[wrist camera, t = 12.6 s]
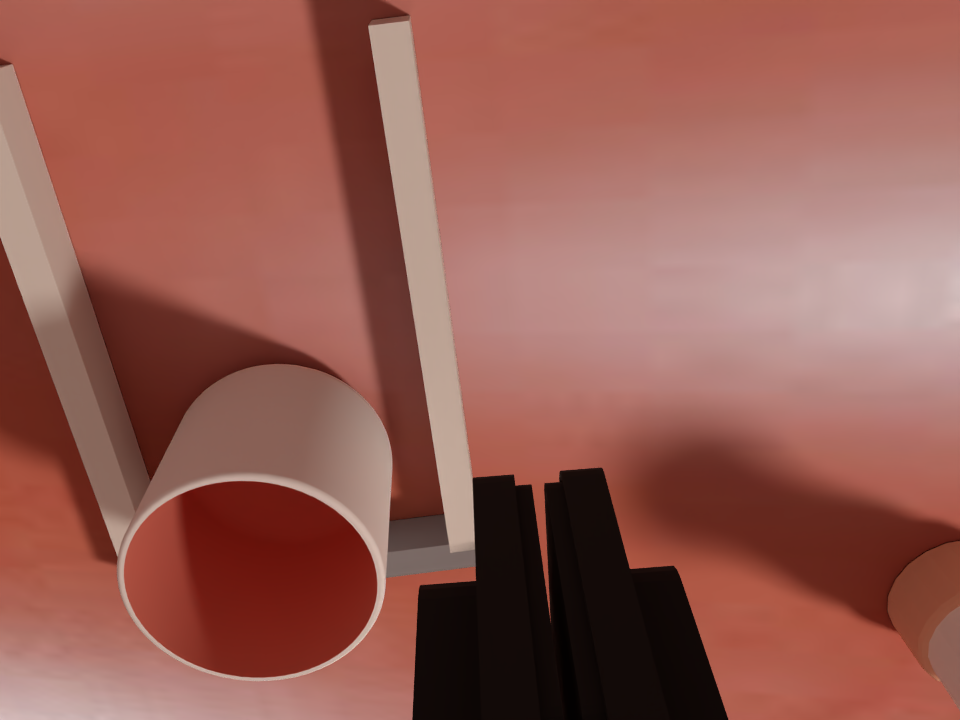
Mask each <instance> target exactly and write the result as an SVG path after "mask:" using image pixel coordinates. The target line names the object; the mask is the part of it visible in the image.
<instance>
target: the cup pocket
mask: <svg viewBox="0 0 960 720" xmlns="http://www.w3.org/2000/svg"><path fill="white" fill-rule="evenodd" d="M368 28H369V35H370V41H371V47H372V54H373V60H374V67H375V73H376V79H377V86H378V92H379V99H380V105H381V111H382V118H383V124H384V131H385V137H386V143H387V150H388V156H389V163H390V169H391V175H392V182H393V188H394V195H395V201H396V207H397V214H398V220H399V227H400V233H401V240H402V246H403V252H404V259H405V265H406V272H407V278H408V284H409V291H410V297H411V304H412V310H413V316H414V323H415V329H416V336H417V342H418V348H419V355H420V361H421V368H422V374H423V380H424V387H425V393H426V400H427V406H428V412H429V419H430V425H431V432H432V438H433V444H434V451H435V457H436V464H437V470H438V476H439V483H440V489H441V496H442V502H443V508H444V514H442V515H434V516H426V517H418V518H410V519H402V520H395V521H389V533H388V550H387V568H386V578H388V577H396V576H403V575H411V574H419V573H427V572H435V571H443V570H451V569H459V568H467V567H475V566H476V563H475V536H474V510H473V482H472V479H473V475H472V468H471V461H470V453H469V446H468V438H467V431H466V424H465V416H464V409H463V402H462V394H461V387H460V379H459V372H458V365H457V357H456V350H455V343H454V335H453V328H452V320H451V313H450V306H449V298H448V291H447V284H446V276H445V269H444V261H443V254H442V247H441V239H440V232H439V225H438V217H437V210H436V202H435V195H434V188H433V180H432V173H431V166H430V158H429V151H428V143H427V136H426V129H425V121H424V114H423V107H422V99H421V92H420V84H419V77H418V70H417V62H416V55H415V48H414V40H413V33H412V25H411V18H410V15H408V16H400V17H392V18H384V19H376V20H371V22H370V24H369V25H368ZM0 238H1V241H2V243H3V246H4V249H5V251H6V254H7V257H8V260H9V262H10V265H11V268H12V270H13V273H14V276H15V279H16V281H17V284H18V287H19V290H20V292H21V295H22V298H23V300H24V303H25V306H26V309H27V311H28V314H29V317H30V320H31V322H32V325H33V328H34V330H35V333H36V336H37V339H38V341H39V344H40V347H41V349H42V352H43V355H44V358H45V360H46V363H47V366H48V369H49V371H50V374H51V377H52V379H53V382H54V385H55V388H56V390H57V393H58V396H59V398H60V401H61V404H62V407H63V409H64V412H65V415H66V418H67V420H68V423H69V426H70V428H71V431H72V434H73V437H74V439H75V442H76V445H77V447H78V450H79V453H80V456H81V458H82V461H83V464H84V467H85V469H86V472H87V475H88V477H89V480H90V483H91V486H92V488H93V491H94V494H95V497H96V499H97V502H98V505H99V507H100V510H101V513H102V516H103V518H104V521H105V524H106V526H107V529H108V532H109V535H110V537H111V540H112V543H113V546H114V548H115V551H116V554H117V556H118V553H119V549H120V545H121V542H122V540H123V537H124V535H125V533H126V531H127V529H128V527H129V525H130V523H131V521H132V519H133V517H134V515H135V513H136V511H137V509H138V507H139V505H140V503H141V501H142V499H143V497H144V495H145V493H146V491H147V489H148V486H149V484H150V479H149V476H148V473H147V470H146V467H145V463H144V460H143V457H142V454H141V451H140V448H139V445H138V442H137V439H136V436H135V433H134V430H133V427H132V424H131V421H130V418H129V415H128V412H127V409H126V406H125V403H124V400H123V397H122V394H121V391H120V388H119V385H118V382H117V379H116V376H115V373H114V370H113V367H112V364H111V361H110V358H109V355H108V352H107V349H106V346H105V343H104V339H103V336H102V333H101V330H100V327H99V324H98V321H97V318H96V315H95V312H94V309H93V306H92V303H91V300H90V297H89V294H88V291H87V288H86V285H85V282H84V279H83V276H82V273H81V270H80V267H79V264H78V261H77V258H76V255H75V252H74V249H73V246H72V243H71V240H70V237H69V234H68V231H67V228H66V225H65V222H64V219H63V216H62V212H61V209H60V206H59V203H58V200H57V197H56V194H55V191H54V188H53V185H52V182H51V179H50V176H49V173H48V170H47V167H46V164H45V161H44V158H43V155H42V152H41V149H40V146H39V143H38V140H37V137H36V134H35V131H34V128H33V125H32V122H31V119H30V116H29V113H28V110H27V107H26V104H25V101H24V98H23V95H22V92H21V89H20V85H19V82H18V79H17V76H16V73H15V70H14V67H13V64H10V65H2V66H0Z"/></svg>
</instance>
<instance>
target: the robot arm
mask: <svg viewBox="0 0 960 720" xmlns="http://www.w3.org/2000/svg"><path fill="white" fill-rule="evenodd" d="M472 482H473V510H474V536H475V563H476V581H470V582H457V583H444V584H432V585H420V588H419V595H418V613H417V634H416V656H415V677H414V699H413V720H728V717H727V714H726V711H725V708H724V705H723V702H722V699H721V696H720V693H719V690H718V687H717V684H716V682H715V679H714V676H713V673H712V670H711V667H710V664H709V661H708V658H707V655H706V652H705V649H704V646H703V643H702V640H701V637H700V634H699V631H698V628H697V625H696V622H695V619H694V616H693V613H692V610H691V608H690V605H689V602H688V599H687V596H686V593H685V590H684V587H683V584H682V581H681V578H680V576H679V573H678V571H677V569H676V568H675V567H674V566H664V567H651V568H639V569H630V568H629V564H628V560H627V557H626V553H625V549H624V545H623V542H622V538H621V534H620V530H619V527H618V523H617V519H616V515H615V512H614V508H613V504H612V500H611V497H610V493H609V489H608V485H607V482H606V478H605V474H604V471H603V469H602V468H591V469H578V470H565V471H560V475H559V482H556V483H545V484H544V492H545V513H546V534H547V554H548V575H549V595H550V615H549V608H548V601H547V593H546V586H545V579H544V572H543V564H542V557H541V550H540V543H539V535H538V528H537V521H536V514H535V506H534V499H533V492H532V485H518V486H515V480H514V475H501V476H489V477H476V478H473V479H472ZM550 616H551V622H550Z"/></svg>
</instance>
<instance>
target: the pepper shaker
mask: <svg viewBox="0 0 960 720" xmlns="http://www.w3.org/2000/svg"><path fill="white" fill-rule="evenodd" d="M887 611H888V614H889V616H890V619H891V621H892V624H893V626H894V627H895V629H896V630H897V632H898V633H899V635H900V636H901V637H902V639H903V640H904V642H905V643H906V645H907V646H908V648H909V649H910V651H911V652H912V653H913V655H914V656H915V658H916V659H917V661H918V662H919V664H920V665H921V667H922V668H923V669H924V670H925V671H926V672H927V673H928V674H929V675H931V676H932V677H933V678H934V679H936V680H937V681H940V682H942V684H943V685H944V687H945V688H946V690H947V692H948V693H949V695H950V696H951V698H952V699H953V701H954V702H955V704H956V705H957V707H958V708H959V710H960V541H956V542H950V543H946V544H943V545H941V546H938V547H936V548H934V549H931V550H929V551H926V552H925V553H924V554H922V555H921V556H919V557H918V558H917V559H915V560H914V561H912V562H911V563H910V564H908V565H907V567H906V568H905V569H904V570H903V571H902V572H901V574H900V575H899V576H898V577H897V578H896V579H895V582H894V584H893V586H892V588H891V591H890V593H889V595H888V610H887Z"/></svg>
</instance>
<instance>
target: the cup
mask: <svg viewBox="0 0 960 720" xmlns="http://www.w3.org/2000/svg"><path fill="white" fill-rule="evenodd" d="M391 481H392V452H391V446H390V442H389V438H388V435H387V432H386V430H385V428H384V425H383V423H382V421H381V420H380V418H379V416H378V415H377V413H376V412H375V410H374V409H373V408H372V406H371V405H370V404H369V403H368V402H367V401H366V400H365V399H364V397H363V396H361V395H360V394H359V393H358V392H357V391H356V390H354V389H353V388H352V387H350V386H349V385H348V384H346V383H344V382H343V381H341V380H339V379H337V378H336V377H334V376H332V375H329V374H327V373H324V372H322V371H319V370H316V369H312V368H307V367H303V366H299V365H290V364H268V365H260V366H254V367H250V368H246V369H243V370H239V371H237V372H235V373H232V374H230V375H227V376H226V377H224V378H222V379H220V380H218V381H217V382H215V383H214V384H212V385H211V386H210V387H208V388H207V389H206V390H205V391H204V392H203V393H202V394H200V395H199V396H198V397H197V398H196V400H195V401H194V402H193V403H192V405H191V406H190V407H189V408H188V410H187V412H186V413H185V415H184V417H183V419H182V421H181V423H180V425H179V427H178V429H177V431H176V433H175V435H174V437H173V439H172V441H171V443H170V445H169V447H168V448H167V450H166V452H165V454H164V456H163V458H162V460H161V462H160V464H159V466H158V468H157V470H156V472H155V474H154V476H153V478H152V480H151V482H150V484H149V486H148V489H147V491H146V493H145V495H144V497H143V499H142V501H141V503H140V505H139V507H138V509H137V511H136V513H135V515H134V517H133V519H132V521H131V523H130V525H129V527H128V529H127V531H126V533H125V535H124V537H123V540H122V542H121V545H120V549H119V553H118V560H117V579H118V586H119V590H120V594H121V597H122V600H123V602H124V605H125V607H126V609H127V611H128V613H129V615H130V616H131V618H132V620H133V621H134V623H135V624H136V625H137V626H138V628H139V629H140V630H141V631H142V633H143V634H144V635H145V636H146V637H147V638H148V639H149V640H150V641H151V642H152V643H154V644H155V645H156V646H157V647H158V648H160V649H161V650H162V651H164V652H165V653H167V654H168V655H170V656H171V657H173V658H174V659H176V660H178V661H180V662H182V663H184V664H186V665H188V666H190V667H192V668H195V669H197V670H200V671H202V672H206V673H209V674H212V675H216V676H220V677H225V678H231V679H237V680H246V681H271V680H282V679H287V678H293V677H297V676H301V675H305V674H308V673H311V672H314V671H316V670H319V669H321V668H324V667H326V666H328V665H330V664H332V663H334V662H335V661H337V660H338V659H340V658H342V657H343V656H345V655H346V654H347V653H348V652H350V651H351V650H352V649H353V648H355V647H356V646H357V645H358V644H359V643H360V642H361V641H362V640H363V638H364V637H365V636H366V635H367V633H368V632H369V631H370V629H371V628H372V626H373V624H374V623H375V621H376V619H377V617H378V615H379V612H380V610H381V607H382V603H383V600H384V594H385V585H386V568H387V550H388V533H389V516H390V498H391Z"/></svg>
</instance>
